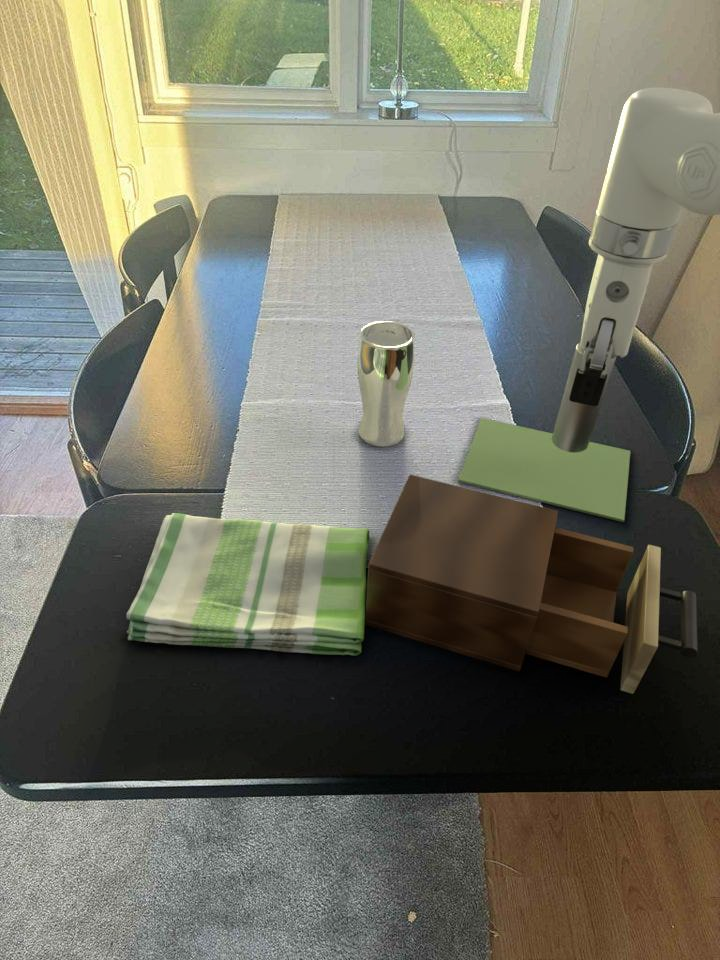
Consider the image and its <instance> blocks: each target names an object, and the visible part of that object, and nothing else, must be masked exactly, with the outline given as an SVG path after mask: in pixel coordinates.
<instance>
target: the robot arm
mask: <svg viewBox="0 0 720 960" xmlns="http://www.w3.org/2000/svg"><path fill="white" fill-rule="evenodd" d="M598 200H599V202H598V205H597V209H596V212H595V215H594V220H593V224H592V227H591V232H590V236H589V240H588V246H589V248H590V249H591V250H592V251H593V252H594V253H596V255H597V258H596V262H595V265H594V269H593V274H592V276H591V277H592V279H591V282H590V286H589V289H588V290H589V291H588V295H587V298H586V299H587V300H586V304H585V310H584V315H583V322H582V323H583V324H582V329H581V336H580V342H581V344H580V346H581V347H582V349H583V350H585V352H584V355H583V359H582V363H581V366H580V369H579V368H577V371H576V375H575V379H574V382H573V386H572V389H571V393H570V397H569V400H570V401H572V402H576V403H581V404H585V405H590V406H597V405H598V404H599V401H600V398H601V394H602V391H603V388H604V385H605V382H606V378H607V374H606V373H607V369H608V366H609V362H610V359H611V355H612V353H613V349H614V352H615V355H617V357H619V358H621V359H623V358H625V357H627V355H628V353H629V351H630V346H631V343H632V339H633V336H634V333H635V329H636V326H637V323H638V319H639V316H640V313H641V309H642V306H643V302H644V300H645V296H646V293H647V289H648V286H649V282H650V278H651V274H652V271H653V266H654V264H656V263H657V264H658V263H660V262H663V260H665V259H666V258H667V256H668V254H669V251H670V248H671V244H672V241H673V238H674V235H675V232H676V229H677V227H678V224H679V221H680V218H681V215H682V212H683V209H686V210H688V211H690V212H692V213H694V214H698V215H704V216H719V215H720V112H715V113H714V109H713V104H712V103H711V101H710V100H709V99H708V98H707V97H705V96H703V95H702V94H700V93H697V92H694V91H691V90H686V89H681V88H674V87H673V88H672V87H647V88H643V89H639V90H637V91H635V92H633V93H632V94H631V95H630V96H629V97H628V99H627V100H626V102H625V104H624V105H623V109H622V111H621V115H620V118H619V121H618V126H617V130H616V134H615V138H614V142H613V146H612V149H611V154H610V157H609V161H608V165H607V169H606V174H605V176H604V181H603V185H602V188H601V193H600V197H599V199H598ZM591 340H592V341H596V344H595V345H592V344H591ZM608 345H610V347H609V348H608ZM589 353H593V356H592V358H591V359H590V358H589V360H588V357H589Z"/></svg>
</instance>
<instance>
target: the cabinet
mask: <svg viewBox="0 0 720 960" xmlns="http://www.w3.org/2000/svg"><path fill="white" fill-rule="evenodd" d="M405 481H406V482H405V484H404V486H403V488H402V490H401V492H400V495H399V496H398V498H397V501H396V503H395V505H394V508H393V510H392V511H391V514H390V516H389V518H388V521H387V523H386V525H385V527H384V529H383V532H382V533H381V536H380V538H379V540H378V542H377V544H376V547H375V549H374V550H373V554H372V555H371V558H370V560H369V562H368V567H367V568H368V569H367V582H366V599H365V626H367V627H370V628H373V629H377V630H381V631H384V632H386V633H391V634H395V635H398V636H400V637H404V638H408V639H411V640H414V641H417V642H420V643H423V644H427V645H430V646H434V647H437V648H440V649H443V650H446V651H451V652H453V653H457V654H460V655H463V656H467V657H469V658H474V659H477V660H480V661H483V662H486V663H489V664H493V665H496V666H500V667H503V668H506V669H509V670H513V671H516V672H521V670H522V666H523V662H524V660H525V656H526V654H525V653H526V650H527V647H528V644H529V641H530V637H531V634H532V631H533V628H534V625H535V622H536V618H537V615H538V612H539V607H540V602H541V597H542V592H543V587H544V582H545V577H546V571H547V566H548V561H549V556H550V551H551V546H552V541H553V535H554V530H555V527H556V525H557V519H558V514H559V510H556V509H552V508H548V507H544V506H540V505H537V504H536V505H535V504H532V503H528V502H523V501H520V500H515V499H511V498H508V497H503V496H499V495H496V494H491V493H487V492H483V491H479V490H475V489H471V488H466V487H463V486H459V485H456V484H455V485H454V484H451V483H446V482H442V481H438V480H435V479H431V478H427V477H422V476H418V475H414V474H409V475H408V477H407V479H406V480H405Z"/></svg>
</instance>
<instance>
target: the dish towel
mask: <svg viewBox="0 0 720 960" xmlns="http://www.w3.org/2000/svg"><path fill="white" fill-rule="evenodd" d="M370 532H371V531H370V529H368V528H364V527H363V528H355V527H353V528H352V527H343V526H342V527H340V526H329V525H327V526H325V525H315V524H306V523H293V524H292V523H281V522H270V521H269V522H268V521H262V520H251V519H236V518H235V519H228V518H227V519H226V518H223V519H222V518H215V517H214V518H213V517H205V516H196V515H195V516H194V515H191V514H185V513H180V512H173V513H171V514H166V515H165V516H164V518H163V520H162V523H161V525H160V529H159V532H158V534H157V537H156V539H155V543H154V546H153V548H152V552H151V555H150V557H149V561H148V563H147V565H146V569H145V571H144V575H143V577H142V581H141V584H140V587H139V589H138V591H137V593H136V595H135V597H134V599H133V601H132V602H131V604H130V607H129V609H128V611H127V612H126V614H125V615H126V619H127V620H128V621H130V622H129V625H128V630H127V631H126V633H127V635H128V636H127V640H128V641H136V642H144V643H154V644H167V645H175V646H193V647H194V646H195V647H196V646H197V647H198V646H199V647H211V648H226V649H237V648H238V649H254V650H265V651H272V652H282V653H299V654H312V655H325V656H326V655H329V656H333V655H334V656H338V655H339V656H352V657H354V656H355V657H357V656H358V655H360V654H361V653H362V642H363V641H364V640H365V626H366V625H365V618H366V594H367V562H368V551H369V547H368V546H369V543H370Z"/></svg>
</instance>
